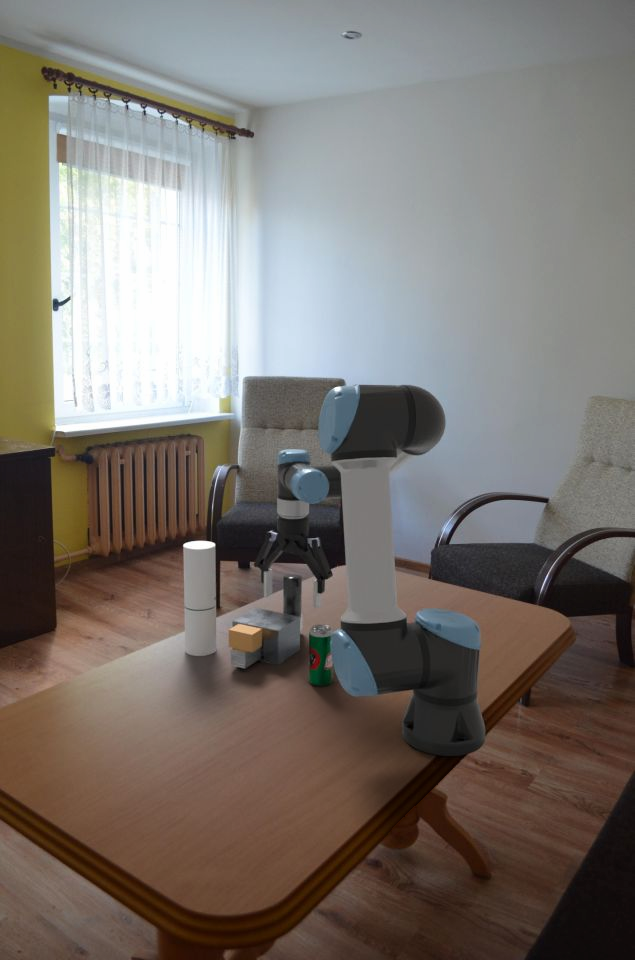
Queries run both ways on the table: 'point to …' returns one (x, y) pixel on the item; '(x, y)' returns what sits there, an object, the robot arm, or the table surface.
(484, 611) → the table surface
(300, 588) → the shaft
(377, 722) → the table surface
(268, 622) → the block
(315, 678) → the soda can
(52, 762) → the table surface
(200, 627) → the cylindrical container
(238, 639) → the block
